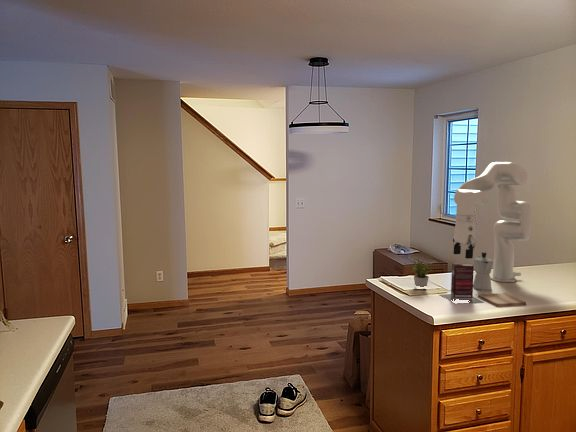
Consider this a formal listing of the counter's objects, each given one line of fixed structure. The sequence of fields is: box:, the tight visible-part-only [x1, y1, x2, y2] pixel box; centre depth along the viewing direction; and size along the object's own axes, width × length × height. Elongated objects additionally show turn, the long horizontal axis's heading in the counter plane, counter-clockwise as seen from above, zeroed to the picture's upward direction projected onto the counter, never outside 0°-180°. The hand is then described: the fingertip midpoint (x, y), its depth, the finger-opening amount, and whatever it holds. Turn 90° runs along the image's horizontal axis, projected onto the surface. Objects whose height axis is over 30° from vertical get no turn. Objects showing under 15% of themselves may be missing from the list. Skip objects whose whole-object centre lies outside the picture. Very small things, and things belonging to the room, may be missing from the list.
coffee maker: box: [473, 252, 494, 291], centre depth 216 cm, size 15×9×18 cm, turn 168°
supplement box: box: [450, 263, 475, 300], centre depth 199 cm, size 9×5×16 cm, turn 84°
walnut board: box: [477, 292, 527, 308], centre depth 196 cm, size 14×14×1 cm
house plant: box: [407, 256, 436, 287], centre depth 215 cm, size 14×14×16 cm
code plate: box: [440, 293, 485, 304], centre depth 200 cm, size 14×14×1 cm
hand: (462, 256), depth 197 cm, fingers open, 9 cm apart
